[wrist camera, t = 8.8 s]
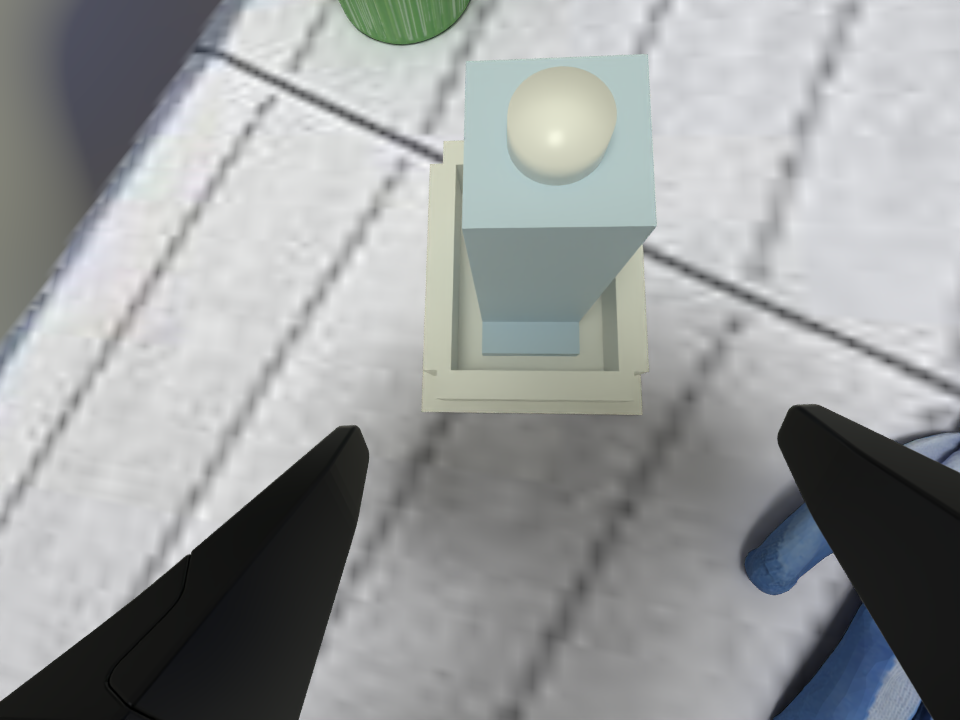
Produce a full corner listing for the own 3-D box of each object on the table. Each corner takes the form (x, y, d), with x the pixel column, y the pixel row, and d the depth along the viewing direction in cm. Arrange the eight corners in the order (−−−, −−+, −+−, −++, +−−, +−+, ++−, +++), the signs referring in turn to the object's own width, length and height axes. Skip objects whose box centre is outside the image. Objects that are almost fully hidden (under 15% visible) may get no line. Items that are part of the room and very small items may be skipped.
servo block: (576, 356, 19) (675, 276, 8) (482, 355, 19) (455, 277, 8) (573, 210, 20) (657, -35, 9) (485, 211, 20) (464, -25, 9)
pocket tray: (638, 414, 19) (674, 414, 15) (423, 412, 19) (403, 410, 15) (627, 166, 20) (657, 106, 16) (432, 171, 21) (415, 114, 17)
